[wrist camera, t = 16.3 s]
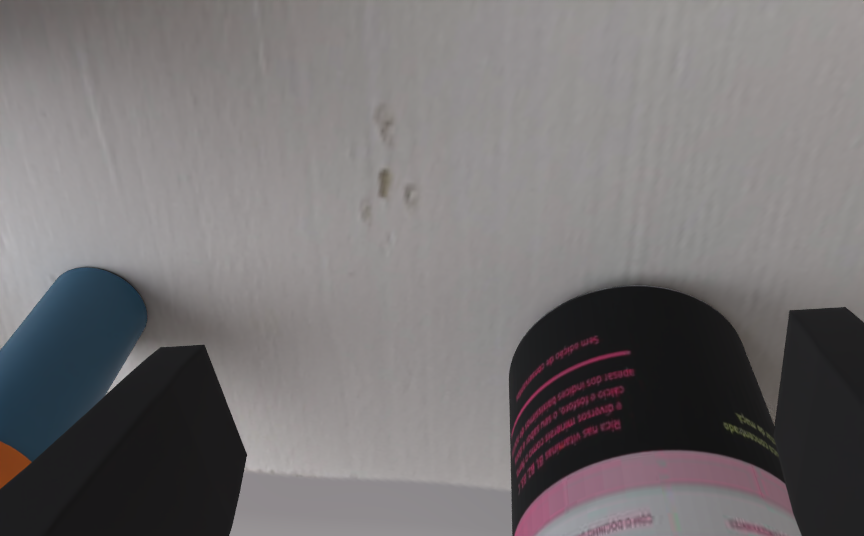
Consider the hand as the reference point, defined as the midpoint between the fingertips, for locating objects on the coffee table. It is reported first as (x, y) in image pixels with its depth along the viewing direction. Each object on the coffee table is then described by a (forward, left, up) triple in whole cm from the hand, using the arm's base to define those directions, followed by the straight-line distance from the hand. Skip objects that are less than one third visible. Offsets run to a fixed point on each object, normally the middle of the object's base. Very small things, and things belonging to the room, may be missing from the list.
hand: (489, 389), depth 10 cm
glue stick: (-10, +9, -10) cm, 17 cm away
